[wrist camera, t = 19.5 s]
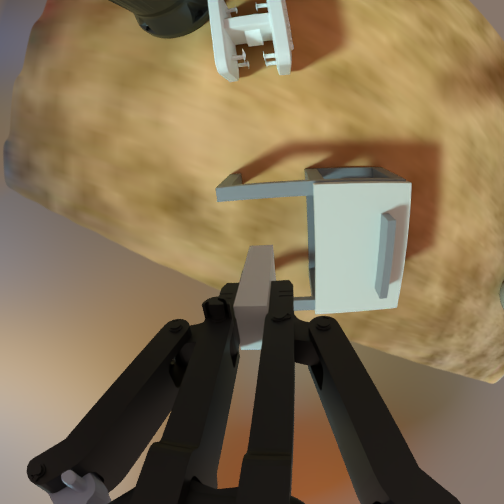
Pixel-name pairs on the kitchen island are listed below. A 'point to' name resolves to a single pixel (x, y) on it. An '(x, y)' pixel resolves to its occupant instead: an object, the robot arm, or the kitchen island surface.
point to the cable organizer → (250, 36)
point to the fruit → (502, 295)
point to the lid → (360, 244)
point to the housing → (238, 191)
